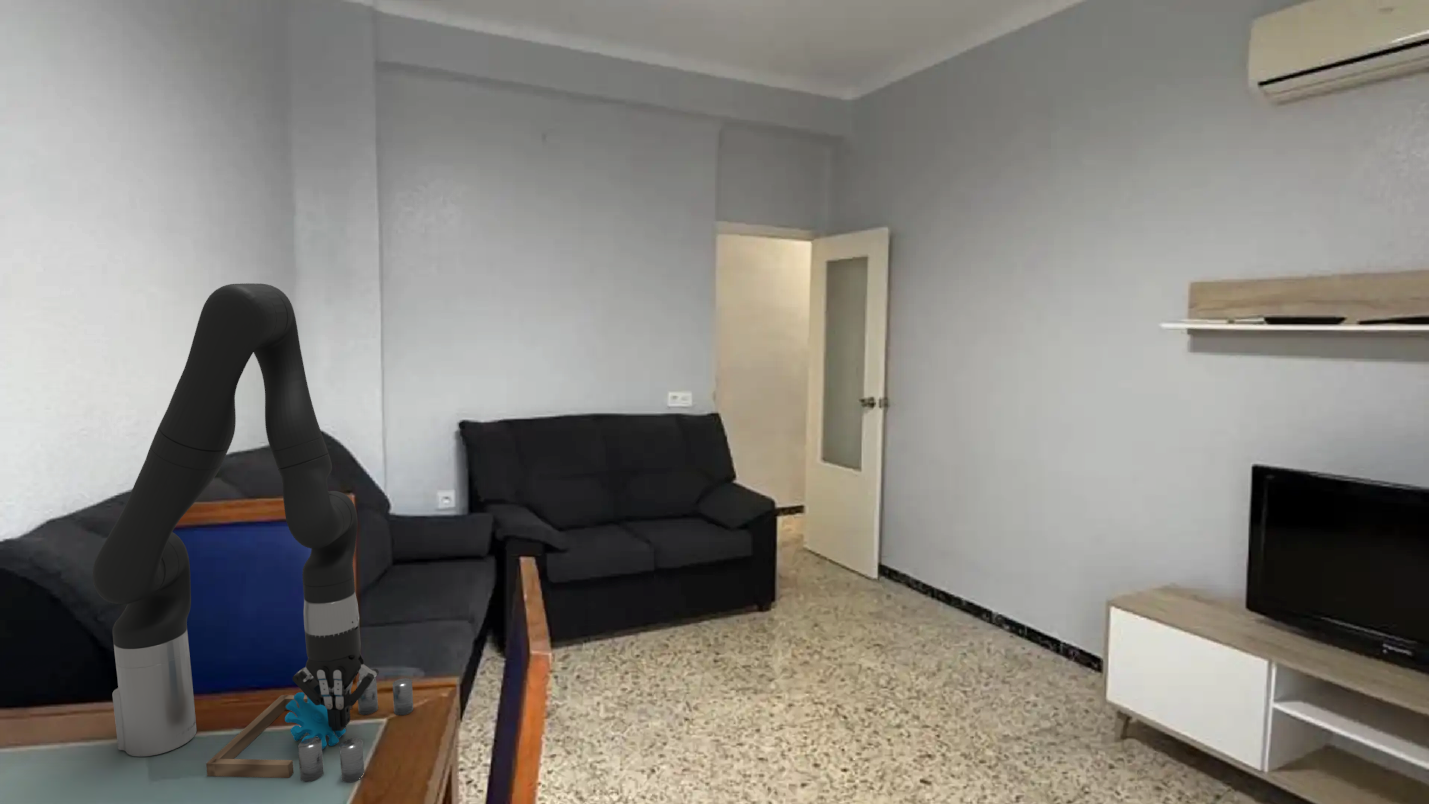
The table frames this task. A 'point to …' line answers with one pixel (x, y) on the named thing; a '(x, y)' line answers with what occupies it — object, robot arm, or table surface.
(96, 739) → the table surface
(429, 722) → the table surface
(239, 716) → the table surface
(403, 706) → the spacers
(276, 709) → the frame
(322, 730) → the gear
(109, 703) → the table surface
